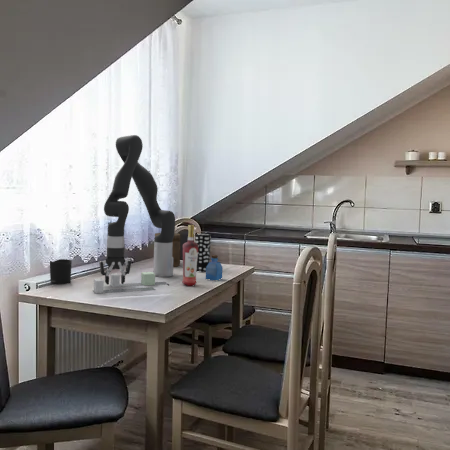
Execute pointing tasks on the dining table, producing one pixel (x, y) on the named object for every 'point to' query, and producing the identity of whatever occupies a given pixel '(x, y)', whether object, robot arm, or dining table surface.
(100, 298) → the dining table surface
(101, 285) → the strip
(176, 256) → the wooden container
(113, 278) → the strip
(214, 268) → the perfume bottle
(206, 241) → the spotted tube
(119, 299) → the dining table surface
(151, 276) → the block
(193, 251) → the liquor
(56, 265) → the pen holder
